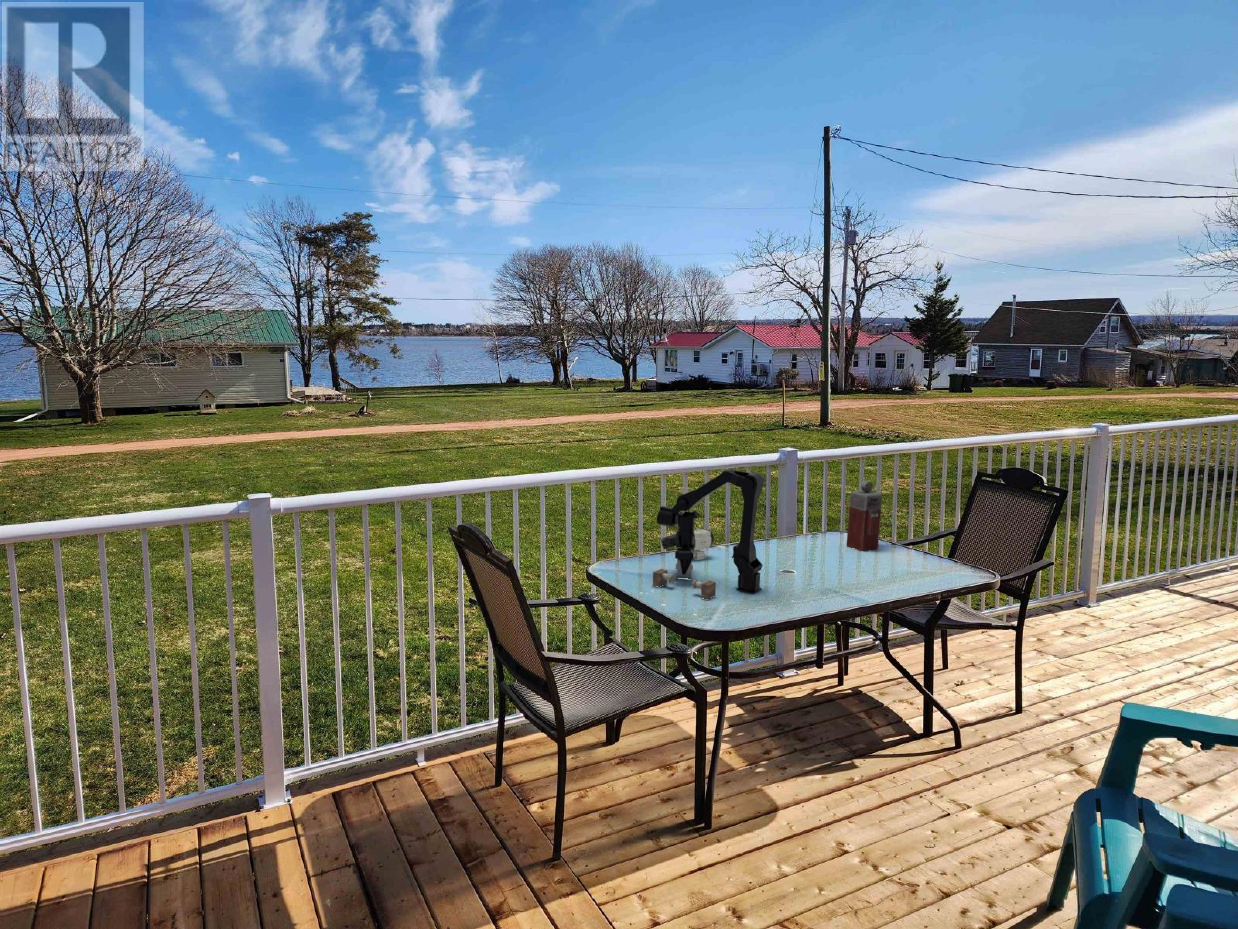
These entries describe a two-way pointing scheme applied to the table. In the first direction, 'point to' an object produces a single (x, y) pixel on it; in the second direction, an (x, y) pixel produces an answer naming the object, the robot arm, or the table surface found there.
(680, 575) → the coupling block
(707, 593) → the shaft stand
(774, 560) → the table surface
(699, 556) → the pneumatic valve
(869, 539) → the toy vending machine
